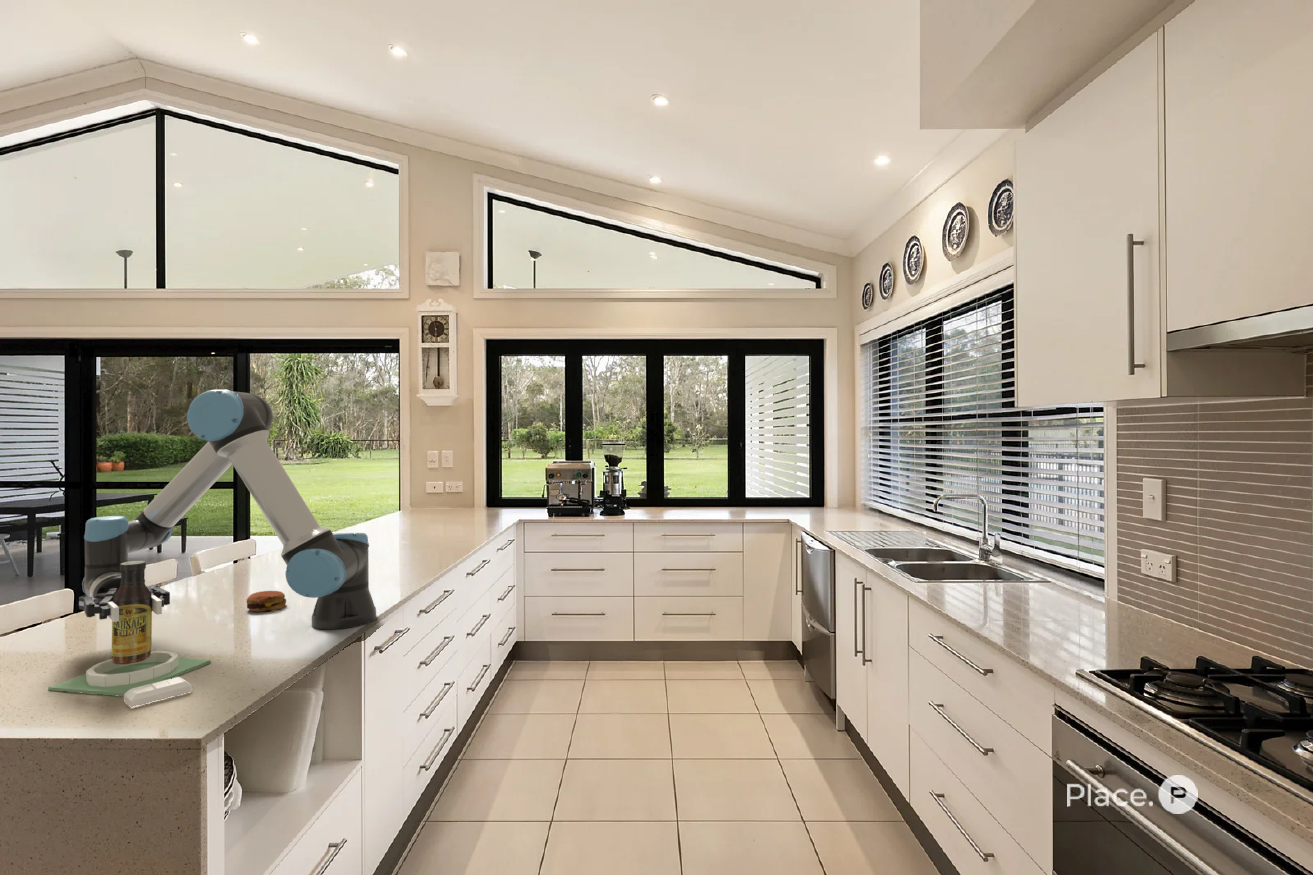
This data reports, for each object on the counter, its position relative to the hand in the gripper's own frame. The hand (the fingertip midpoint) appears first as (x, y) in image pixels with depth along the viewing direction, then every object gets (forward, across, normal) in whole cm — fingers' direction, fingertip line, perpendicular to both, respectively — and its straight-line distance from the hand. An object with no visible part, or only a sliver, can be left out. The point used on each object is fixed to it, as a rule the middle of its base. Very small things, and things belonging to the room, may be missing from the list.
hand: (138, 610), depth 125 cm
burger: (-41, -36, -14) cm, 56 cm away
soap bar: (+12, -1, -15) cm, 19 cm away
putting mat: (-5, 0, -14) cm, 15 cm away
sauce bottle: (-5, 0, -11) cm, 12 cm away
